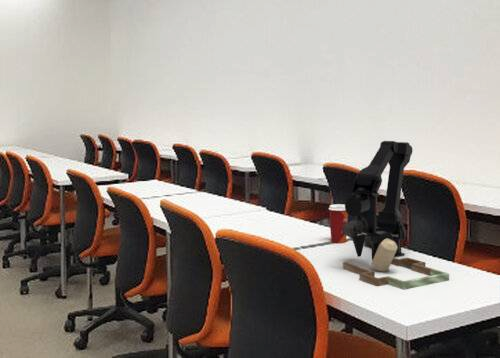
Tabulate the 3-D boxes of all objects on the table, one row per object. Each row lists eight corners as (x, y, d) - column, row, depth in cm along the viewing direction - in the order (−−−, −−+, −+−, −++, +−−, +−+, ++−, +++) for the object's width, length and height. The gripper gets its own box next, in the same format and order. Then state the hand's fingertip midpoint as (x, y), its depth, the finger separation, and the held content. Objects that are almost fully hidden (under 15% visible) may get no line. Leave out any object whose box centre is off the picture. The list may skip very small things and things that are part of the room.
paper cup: (350, 243, 244) (350, 206, 242) (329, 244, 244) (329, 207, 242) (347, 239, 252) (347, 203, 250) (327, 239, 252) (327, 203, 250)
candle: (389, 264, 207) (400, 240, 202) (386, 274, 202) (397, 249, 197) (373, 258, 208) (383, 233, 203) (369, 266, 203) (380, 241, 198)
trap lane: (394, 259, 218) (394, 253, 218) (458, 278, 195) (458, 271, 194) (332, 270, 205) (332, 264, 205) (393, 291, 182) (393, 284, 181)
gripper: (329, 209, 213) (329, 255, 215) (366, 218, 197) (365, 268, 199) (356, 206, 218) (355, 251, 220) (394, 215, 202) (393, 264, 204)
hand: (366, 258), depth 211 cm, fingers open, 7 cm apart
